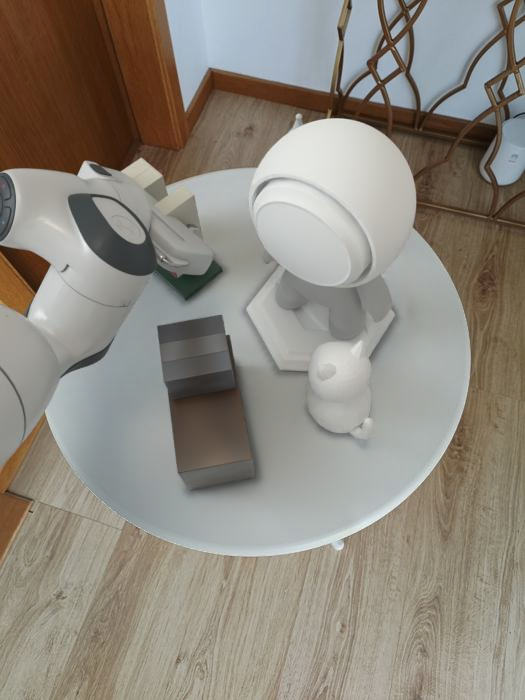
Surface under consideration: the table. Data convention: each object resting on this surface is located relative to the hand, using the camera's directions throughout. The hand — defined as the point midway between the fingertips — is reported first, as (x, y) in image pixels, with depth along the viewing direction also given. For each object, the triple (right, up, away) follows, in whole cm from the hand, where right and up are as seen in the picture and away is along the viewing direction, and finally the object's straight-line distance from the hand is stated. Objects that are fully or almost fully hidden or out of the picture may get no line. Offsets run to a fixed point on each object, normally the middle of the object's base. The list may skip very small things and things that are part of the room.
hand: (187, 224), depth 78 cm
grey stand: (+4, -29, -2) cm, 29 cm away
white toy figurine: (+20, -13, +5) cm, 24 cm away
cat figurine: (+22, -27, -2) cm, 35 cm away
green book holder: (-3, -3, +10) cm, 11 cm away
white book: (-1, -4, +7) cm, 8 cm away
